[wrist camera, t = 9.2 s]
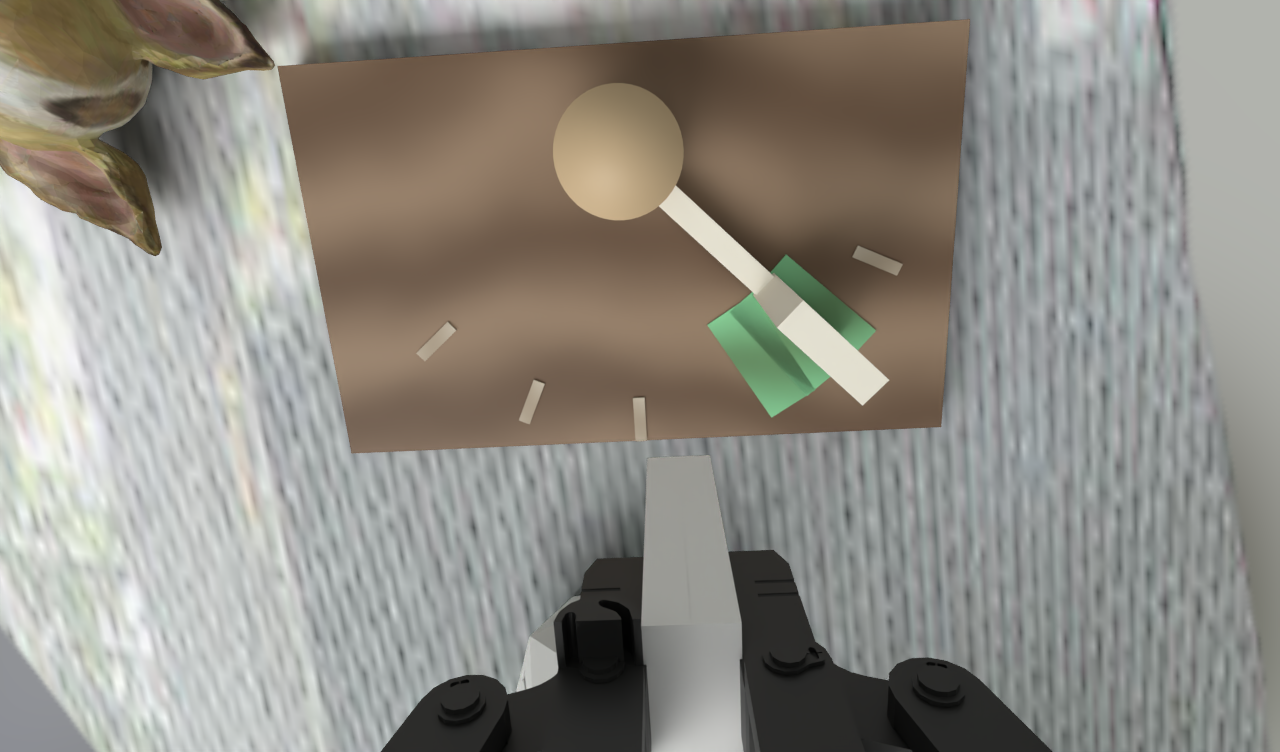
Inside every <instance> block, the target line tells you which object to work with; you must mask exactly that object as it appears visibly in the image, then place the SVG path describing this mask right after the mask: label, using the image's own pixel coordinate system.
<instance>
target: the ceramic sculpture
mask: <svg viewBox="0 0 1280 752" xmlns="http://www.w3.org/2000/svg"><path fill="white" fill-rule="evenodd" d="M152 63H153V64H155V65H156V66H159V67H162V68H165V69H168V70H171V71H174V72H177V73H179V74H182V75H185V76H188V77H194V78H199V79H208V78H212V77H217V76H222V75H227V74H231V73H236V72H241V71H245V70H263V71H264V70H271V69H272V68H273V67H274V66H275V64H274V61H273V60H272V59H271V58H270V56H269V55H268V54H267V53H266V52H265V50H264V49H263V48H262V47H261V46H260V44H259V43H258V42H257V41H256V39H255V38H254V37H253V35H252V34H251V32H250V31H249V29H248V28H247V26H246V25H245V24H243V23H242V22H241V21H240V20H239V19H238V18H237V17H236V15H235V14H234V13H233V12H231V11H230V10H229V9H228V8H227V7H226V6H225V5H224V4H222V3H221V2H220V1H219V0H0V166H1V167H2V169H3V170H4V171H5V173H6V174H8V175H9V176H11V177H12V178H14V179H16V180H18V181H20V182H22V183H23V184H25V185H26V186H28V187H29V188H30V189H31V190H32V192H33V193H34V194H35V195H36V196H37V197H39V198H40V199H41V200H43V201H45V202H46V203H48V204H50V205H53V206H55V207H57V208H59V209H60V210H62V211H66V212H71V213H76V214H77V215H78V216H79V218H81V219H84V220H86V221H89V222H91V223H93V224H95V225H97V226H100V227H102V228H105V229H108V230H111V231H113V232H115V233H117V234H120V235H122V236H124V237H126V238H128V239H130V240H131V241H132V242H133V243H134V244H135V245H136V246H138V247H140V248H141V249H143V250H144V251H145V252H147V253H148V254H151V255H153V256H156V255H159V254H160V251H161V248H162V245H161V241H160V236H159V232H158V228H157V224H156V221H155V211H154V206H153V203H152V199H151V195H150V191H149V187H148V183H147V179H146V176H145V174H144V172H143V171H142V169H141V168H140V166H139V164H138V163H136V162H135V161H134V160H133V159H131V158H130V157H129V156H128V155H126V154H125V153H124V152H122V151H120V150H118V149H116V148H114V147H112V146H110V145H109V144H107V143H105V142H103V141H101V140H99V139H98V138H99V137H100V136H101V135H102V134H103V133H104V132H106V131H110V130H113V129H116V128H119V127H121V126H123V125H124V124H126V123H127V122H129V121H130V120H131V119H132V118H133V117H134V116H135V115H136V114H137V113H138V112H139V110H140V109H141V108H142V107H143V106H144V105H145V103H146V100H147V96H148V93H149V90H150V86H151V83H152Z"/></svg>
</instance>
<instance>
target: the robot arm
mask: <svg viewBox="0 0 1280 752" xmlns="http://www.w3.org/2000/svg"><path fill="white" fill-rule="evenodd" d="M553 624H554V633H555V643H556V652H557V662H558V672H557V674H556V675H555V676H554V677H552V678H551V679H549V680H547V681H546V682H544V683H542V684H540V685H537V686H535V687H532V688H529V689H526V690H522V691H519V692H515V693H511V694H508V695H507V693H506V689H505V687H504V686H503V685H502V684H501V683H500V682H499V681H498V680H497V679H494V678H491V677H487V676H484V675H465V676H461V677H458V678H454V679H450V680H448V681H446V682H444V683H442V684H440V685H438V686H437V687H435V688H433V689H432V690H431V691H430V692H429V693H428V694H427V695H426V696H425V697H424V698H423V699H421V701H420V702H419V703H418V705H417V706H416V707H415V708H414V710H413V711H412V712H411V714H410V715H409V716H408V717H407V719H406V720H405V721H404V723H403V724H402V725H401V726H400V728H399V729H398V730H397V732H396V733H395V734H394V735H393V737H392V738H391V739H390V741H389V742H388V743H387V744H386V746H385V747H384V748H383V750H382V751H381V752H1052V751H1051V750H1050V749H1049V748H1048V747H1047V746H1046V745H1045V744H1044V743H1043V742H1042V741H1041V740H1040V739H1039V738H1038V737H1037V736H1036V735H1035V734H1034V733H1033V732H1032V731H1031V730H1030V729H1029V728H1028V727H1027V726H1026V725H1025V724H1024V723H1023V722H1022V721H1021V720H1020V719H1019V718H1018V717H1017V716H1016V715H1015V714H1014V713H1013V712H1012V711H1011V710H1010V709H1009V708H1008V707H1007V706H1006V705H1005V704H1004V703H1003V702H1002V701H1001V700H1000V699H999V698H998V697H997V696H996V695H995V694H994V693H993V692H992V691H991V690H990V689H989V688H988V687H986V686H985V685H984V684H983V683H982V682H981V681H980V680H979V679H978V678H977V677H975V676H974V675H973V674H971V673H970V672H969V671H967V670H966V669H965V668H962V667H960V666H957V665H955V664H953V663H950V662H948V661H944V660H939V659H933V658H912V659H908V660H906V661H903V662H901V663H898V664H897V665H896V666H895V667H894V668H893V669H892V671H891V672H890V673H889V681H888V680H883V679H878V678H873V677H867V676H863V675H859V674H856V673H852V672H849V671H847V670H845V669H843V668H840V667H838V666H837V665H835V664H834V663H833V661H832V658H831V657H830V655H829V654H828V652H827V651H826V649H825V648H824V647H822V646H821V645H819V644H818V643H816V642H815V639H814V637H813V634H812V631H811V628H810V625H809V622H808V619H807V616H806V613H805V610H804V607H803V604H802V601H801V599H800V596H799V594H798V590H797V587H796V584H795V582H794V578H793V575H792V572H791V569H790V566H789V563H787V562H786V561H785V560H784V559H783V558H782V557H781V556H780V555H778V554H777V553H776V552H775V551H774V550H761V551H735V552H728V548H727V543H726V538H725V533H724V527H723V522H722V517H721V512H720V506H719V501H718V496H717V491H716V485H715V480H714V475H713V470H712V464H711V459H710V455H700V456H678V457H655V458H647V478H646V506H645V534H644V557H629V558H603V559H597V560H596V561H595V562H594V563H593V564H592V565H591V567H590V568H589V569H588V570H587V571H586V572H585V574H584V580H583V585H582V592H581V596H580V600H577V601H575V602H572V603H570V604H568V605H567V606H566V607H565V608H563V609H562V610H561V611H559V613H558V614H557V616H556V618H555V620H554V622H553Z"/></svg>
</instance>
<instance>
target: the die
mask: <svg viewBox="0 0 1280 752" xmlns="http://www.w3.org/2000/svg"><path fill="white" fill-rule="evenodd" d="M580 596H581V595H579V596H573V597H572V598H571V599H570V600H569V601H567V602H566V603H565V604H564V605H563V606H562V607H561V608H560V609H559V610H558V611H556V612H555V613H554V614H553V615H552V616H551V617H550V618H549V619H548V620H547V621H545V622H544V623H543V624H542V625H541V626H540V627H539V628H538V629H537V630H536V631H534V632H533V633H532V634H531V635H530V637H529V641H528V645H527V649H526V653H525V657H524V661H523V665H522V670H521V674H520V678H519V682H518V686H517V690H516V692H519V691H522V690H526V689H529V688H532V687H535V686H537V685H540V684H542V683H544V682H546V681H547V680H549V679H551V678H552V677H554V676H555V675H556V674H557V672H558V662H557V652H556V643H555V633H554V624H553V622H554V620H555V618H556V616H557V614H558V613H559V611H561V610H562V609H563V608H565V607H566V606H567V605H568V604H570V603H572V602H575V601H577V600H580Z"/></svg>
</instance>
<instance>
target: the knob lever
mask: <svg viewBox="0 0 1280 752" xmlns="http://www.w3.org/2000/svg"><path fill="white" fill-rule="evenodd" d="M683 158H684V147H683V139H682V135H681V131H680V128H679V126H678V123H677V121H676V119H675V117H674V115H673V114H672V112H671V111H670V110H669V108H668V107H667V106H666V105H665V104H664V103H663V101H662V100H660V99H659V98H658V97H657V96H656V95H654V94H652V93H651V92H649V91H648V90H645V89H643V88H641V87H638V86H635V85H632V84H625V83H610V84H604V85H601V86H597V87H595V88H592V89H590V90H588V91H586V92H585V93H583V94H582V95H580V96H579V97H578V98H577V99H575V100H574V101H573V102H572V103H571V105H570V106H569V107H568V108H567V109H566V111H565V112H564V114H563V115H562V117H561V119H560V121H559V123H558V126H557V129H556V132H555V137H554V143H553V160H554V166H555V170H556V173H557V176H558V179H559V181H560V183H561V185H562V187H563V189H564V190H565V192H566V193H567V194H568V196H569V197H570V198H571V199H572V200H573V201H574V202H575V203H576V204H577V205H578V206H579V207H581V208H582V209H583V210H585V211H587V212H588V213H590V214H592V215H595V216H597V217H600V218H604V219H609V220H629V219H634V218H638V217H640V216H643V215H645V214H647V213H649V212H651V211H653V210H654V209H655V208H657V207H658V206H659V207H660V208H661V209H662V210H663V211H665V212H666V213H667V214H668V215H669V216H670V217H671V218H672V219H673V220H674V221H675V222H677V223H678V224H679V225H680V226H681V227H682V228H683V229H684V230H685V231H686V232H688V233H689V234H690V235H691V236H692V237H693V238H694V239H695V240H696V241H697V242H698V243H700V244H701V245H702V246H703V247H704V248H705V249H706V250H707V251H708V252H709V253H710V254H712V255H713V256H714V257H715V258H716V259H717V260H718V261H719V262H720V263H721V264H723V265H724V266H725V267H726V268H727V269H728V270H729V271H730V272H731V273H732V274H733V275H735V276H736V277H737V278H738V279H739V280H740V281H741V282H742V283H743V284H744V285H746V286H747V287H748V288H749V289H750V290H751V291H752V292H753V293H754V294H753V296H754V297H755V298H756V300H757V301H758V303H759V304H760V305H761V307H762V308H763V309H764V311H765V312H766V314H767V315H768V316H769V318H770V319H771V320H772V322H773V323H774V324H775V326H776V327H777V328H778V329H779V330H780V331H781V332H782V333H783V334H784V335H785V336H787V337H788V338H789V339H790V340H791V341H792V342H793V343H794V344H795V345H796V346H798V347H799V348H800V349H801V350H802V351H803V352H804V353H805V354H806V355H807V356H809V357H810V358H811V359H812V360H813V361H814V362H815V363H816V364H817V365H818V366H820V367H821V368H822V369H823V370H824V371H825V372H826V373H827V374H828V375H829V376H831V377H832V378H833V379H834V380H835V381H836V382H837V383H838V384H839V385H840V386H841V387H843V388H844V389H845V390H846V391H847V392H848V393H849V394H850V395H851V396H852V397H854V398H855V399H856V400H857V401H858V402H859V403H860V404H861V405H862V406H863V405H864V404H865V403H866V402H867V401H868V400H869V399H870V398H871V397H872V396H873V395H874V394H875V393H876V392H878V391H879V390H880V389H881V388H882V387H883V386H884V385H885V384H886V383H887V382H888V381H889V379H888V378H887V377H885V376H884V375H883V374H882V373H881V372H880V371H879V370H878V369H877V368H876V367H875V366H874V365H873V364H872V363H870V362H869V361H868V360H867V359H866V358H865V357H864V356H863V355H862V354H861V353H860V352H859V351H858V350H856V349H855V348H854V347H853V346H852V345H851V344H850V343H849V342H848V341H847V340H846V339H845V338H844V337H842V336H841V335H840V334H839V333H838V332H837V331H836V330H835V329H834V328H833V327H832V326H831V325H830V324H828V323H827V322H826V321H825V320H824V319H823V318H822V317H821V316H820V315H819V314H818V313H817V312H816V311H814V310H813V309H812V308H811V307H810V306H809V305H808V304H807V303H806V302H805V301H804V300H803V299H802V298H800V297H799V296H798V295H797V294H796V293H795V292H794V291H793V290H792V289H791V288H790V287H789V286H788V285H786V284H785V283H784V282H783V281H782V280H781V279H780V278H779V277H778V276H777V275H776V274H775V273H773V274H771V273H770V272H769V271H768V270H766V269H765V268H764V267H763V266H762V265H761V264H760V263H759V262H758V261H757V260H756V259H755V258H754V257H752V256H751V255H750V254H749V253H748V252H747V251H746V250H745V249H744V248H743V247H742V246H741V245H740V244H738V243H737V242H736V241H735V240H734V239H733V238H732V237H731V236H730V235H729V234H728V233H727V232H725V231H724V230H723V229H722V228H721V227H720V226H719V225H718V224H717V223H716V222H715V221H714V220H713V219H711V218H710V217H709V216H708V215H707V214H706V213H705V212H704V211H703V210H702V209H701V208H700V207H698V206H697V205H696V204H695V203H694V202H693V201H692V200H691V199H690V198H689V197H688V196H687V195H686V194H684V193H683V192H682V191H681V190H680V189H679V188H678V187H677V186H676V184H677V181H678V179H679V176H680V173H681V170H682V165H683Z"/></svg>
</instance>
